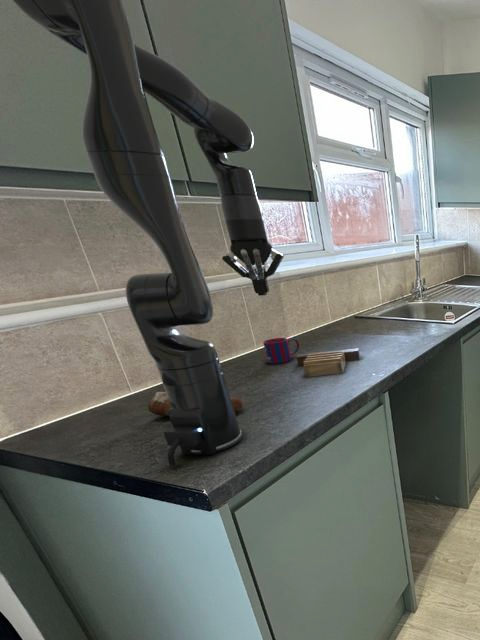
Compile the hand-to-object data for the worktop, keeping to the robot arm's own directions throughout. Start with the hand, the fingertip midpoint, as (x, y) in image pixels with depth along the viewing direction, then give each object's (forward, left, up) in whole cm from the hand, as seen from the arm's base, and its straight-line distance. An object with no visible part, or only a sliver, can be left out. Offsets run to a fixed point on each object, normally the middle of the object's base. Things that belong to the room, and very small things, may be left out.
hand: (263, 294), depth 100 cm
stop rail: (+24, 0, -25) cm, 35 cm away
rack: (+16, -3, -25) cm, 30 cm away
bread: (-14, +12, -25) cm, 31 cm away
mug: (+26, +16, -25) cm, 40 cm away
